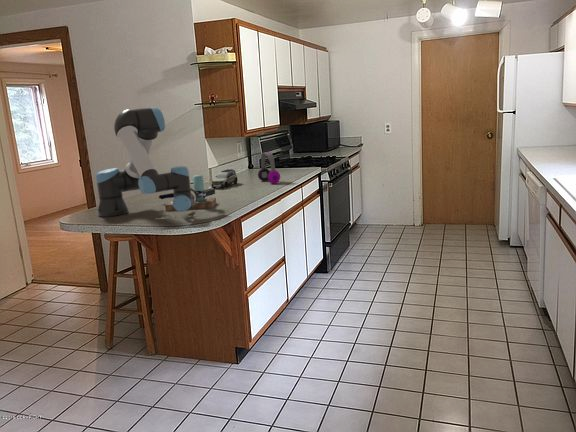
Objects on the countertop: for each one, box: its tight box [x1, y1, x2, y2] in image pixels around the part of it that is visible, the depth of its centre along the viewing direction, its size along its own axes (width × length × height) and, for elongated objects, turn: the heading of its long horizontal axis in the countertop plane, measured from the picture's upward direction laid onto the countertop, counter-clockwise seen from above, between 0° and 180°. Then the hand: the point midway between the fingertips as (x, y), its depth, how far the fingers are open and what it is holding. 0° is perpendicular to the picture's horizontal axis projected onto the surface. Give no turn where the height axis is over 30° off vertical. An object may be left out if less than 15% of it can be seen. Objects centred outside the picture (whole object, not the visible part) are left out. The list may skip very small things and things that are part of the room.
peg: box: [192, 174, 206, 202], centre depth 259 cm, size 5×5×16 cm
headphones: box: [257, 151, 281, 185], centre depth 331 cm, size 21×9×20 cm, turn 25°
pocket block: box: [164, 197, 217, 212], centre depth 261 cm, size 24×12×4 cm, turn 88°
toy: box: [158, 187, 193, 200], centre depth 288 cm, size 31×8×30 cm
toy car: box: [210, 168, 238, 189], centre depth 330 cm, size 13×24×10 cm, turn 169°
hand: (197, 190), depth 254 cm, fingers open, 13 cm apart
